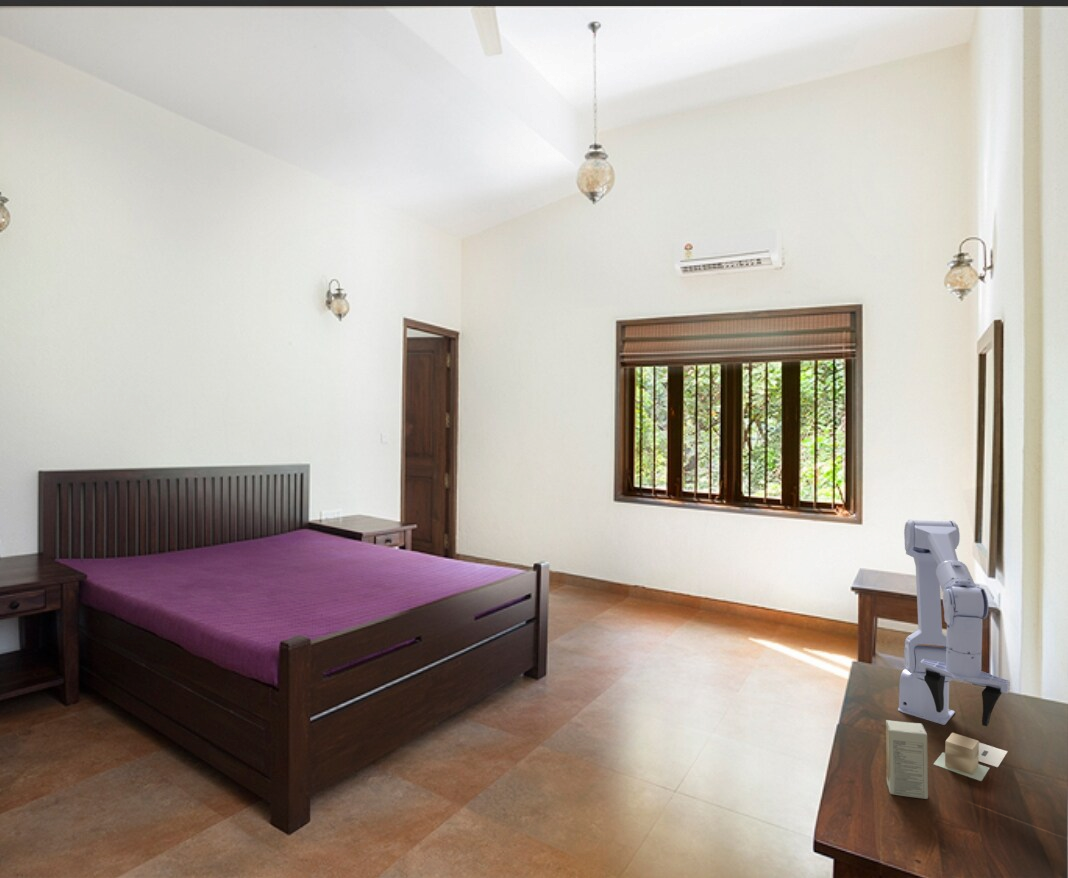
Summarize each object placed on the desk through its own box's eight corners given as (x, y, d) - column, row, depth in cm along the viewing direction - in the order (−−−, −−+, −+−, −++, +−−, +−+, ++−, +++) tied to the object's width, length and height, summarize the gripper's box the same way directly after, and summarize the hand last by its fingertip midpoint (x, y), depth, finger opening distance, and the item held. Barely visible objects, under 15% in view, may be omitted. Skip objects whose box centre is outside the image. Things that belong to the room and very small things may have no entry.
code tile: (950, 752, 134) (950, 751, 134) (961, 737, 139) (961, 736, 139) (997, 768, 128) (997, 767, 128) (1007, 752, 133) (1007, 751, 133)
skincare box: (922, 786, 122) (924, 723, 122) (928, 800, 118) (929, 734, 118) (884, 781, 125) (885, 718, 124) (888, 794, 120) (889, 729, 120)
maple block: (944, 765, 129) (945, 741, 128) (951, 756, 132) (952, 732, 131) (971, 775, 125) (972, 749, 125) (978, 765, 128) (978, 740, 128)
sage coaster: (933, 765, 129) (933, 764, 129) (942, 753, 133) (942, 752, 133) (981, 782, 123) (981, 780, 123) (989, 769, 128) (989, 767, 128)
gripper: (915, 644, 129) (914, 711, 130) (1004, 665, 119) (1002, 738, 120) (926, 634, 134) (925, 699, 135) (1013, 654, 124) (1011, 724, 125)
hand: (962, 717), depth 128 cm, fingers open, 7 cm apart
